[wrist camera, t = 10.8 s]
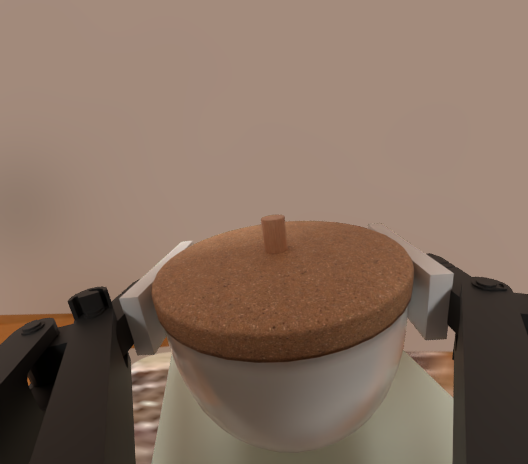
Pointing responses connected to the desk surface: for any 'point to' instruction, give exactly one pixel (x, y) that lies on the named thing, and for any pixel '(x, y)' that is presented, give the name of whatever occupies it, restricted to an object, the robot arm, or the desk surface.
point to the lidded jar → (287, 328)
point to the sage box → (330, 457)
